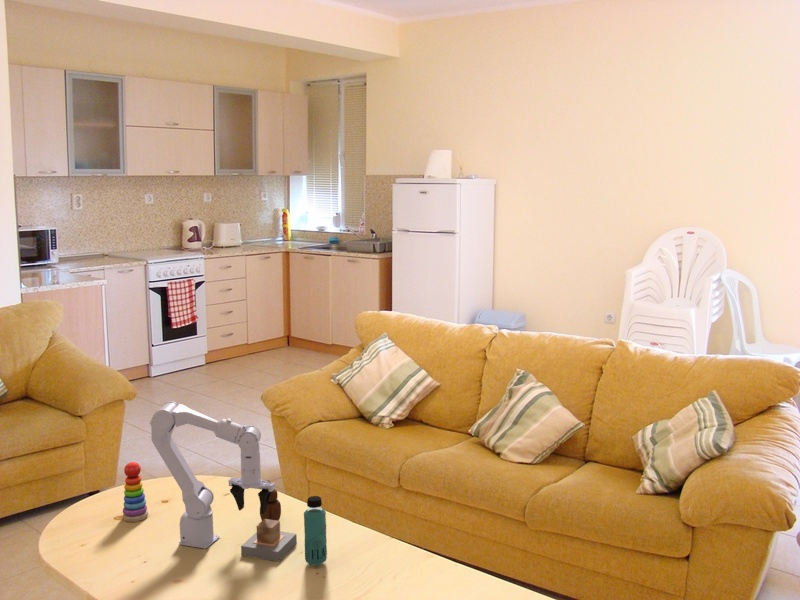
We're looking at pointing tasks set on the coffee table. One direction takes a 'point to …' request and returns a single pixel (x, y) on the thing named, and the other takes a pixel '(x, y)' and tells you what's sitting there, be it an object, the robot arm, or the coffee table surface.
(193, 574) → the coffee table surface
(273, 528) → the walnut cube
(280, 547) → the slate plinth
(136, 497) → the stacking toy
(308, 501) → the beverage bottle
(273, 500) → the wooden figurine
